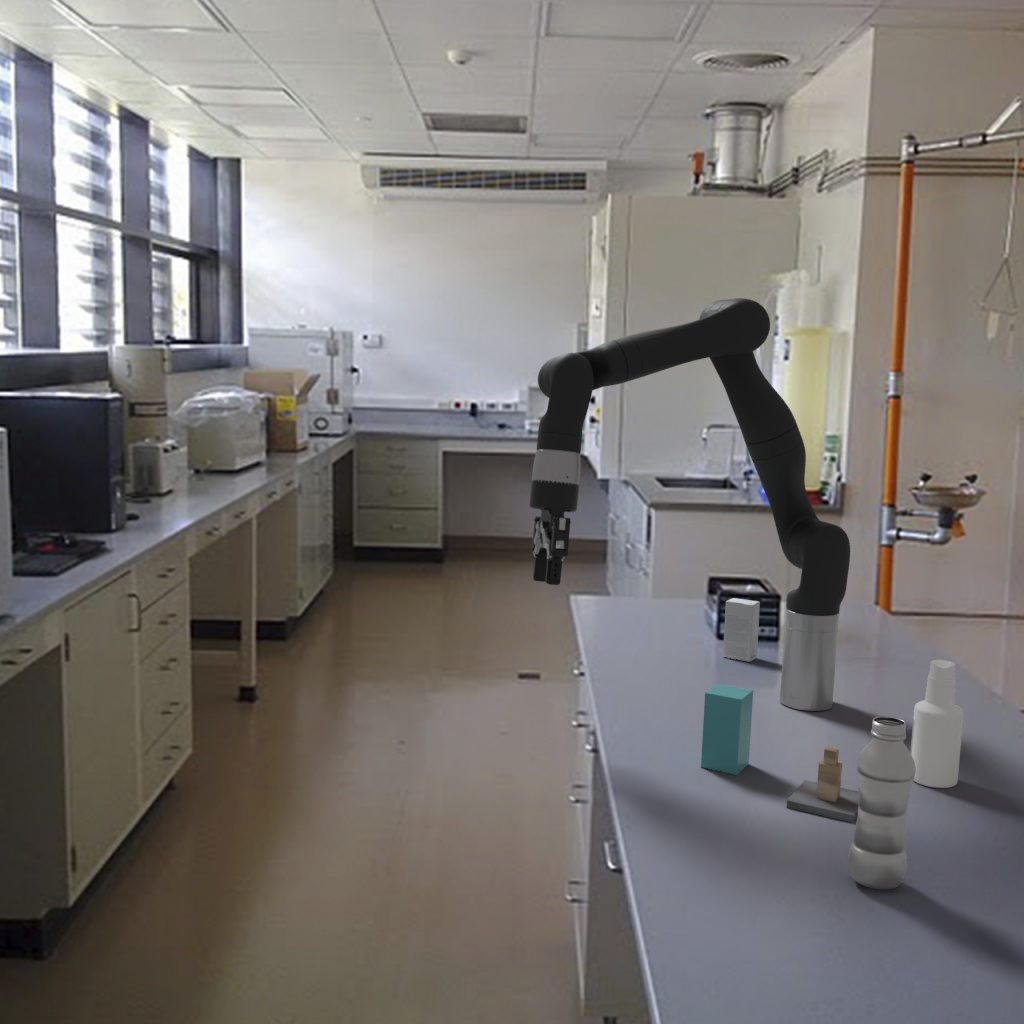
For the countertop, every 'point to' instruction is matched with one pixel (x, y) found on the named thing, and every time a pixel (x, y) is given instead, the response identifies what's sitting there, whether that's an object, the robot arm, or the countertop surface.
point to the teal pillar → (727, 728)
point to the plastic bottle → (882, 806)
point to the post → (826, 791)
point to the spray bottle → (937, 729)
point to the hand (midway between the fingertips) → (545, 582)
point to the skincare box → (741, 629)
